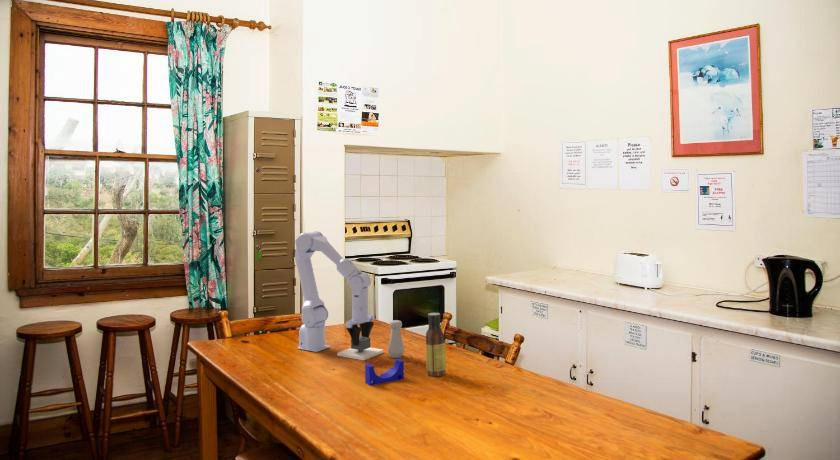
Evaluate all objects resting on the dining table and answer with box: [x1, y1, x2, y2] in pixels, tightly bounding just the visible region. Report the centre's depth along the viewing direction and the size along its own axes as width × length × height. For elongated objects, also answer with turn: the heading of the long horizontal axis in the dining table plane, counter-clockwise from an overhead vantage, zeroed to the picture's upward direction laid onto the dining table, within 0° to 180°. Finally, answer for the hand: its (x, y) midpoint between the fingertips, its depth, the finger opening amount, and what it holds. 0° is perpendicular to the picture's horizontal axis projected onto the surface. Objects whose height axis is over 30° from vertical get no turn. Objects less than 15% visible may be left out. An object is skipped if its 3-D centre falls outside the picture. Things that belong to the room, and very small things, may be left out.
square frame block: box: [350, 335, 371, 350], centre depth 208 cm, size 5×5×4 cm
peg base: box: [336, 337, 384, 361], centre depth 208 cm, size 12×12×6 cm
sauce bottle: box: [425, 312, 447, 377], centre depth 184 cm, size 7×6×20 cm
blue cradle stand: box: [364, 358, 405, 387], centre depth 179 cm, size 12×4×6 cm, turn 120°
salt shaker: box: [387, 319, 405, 359], centre depth 204 cm, size 6×6×13 cm
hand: (360, 343), depth 208 cm, fingers open, 5 cm apart
